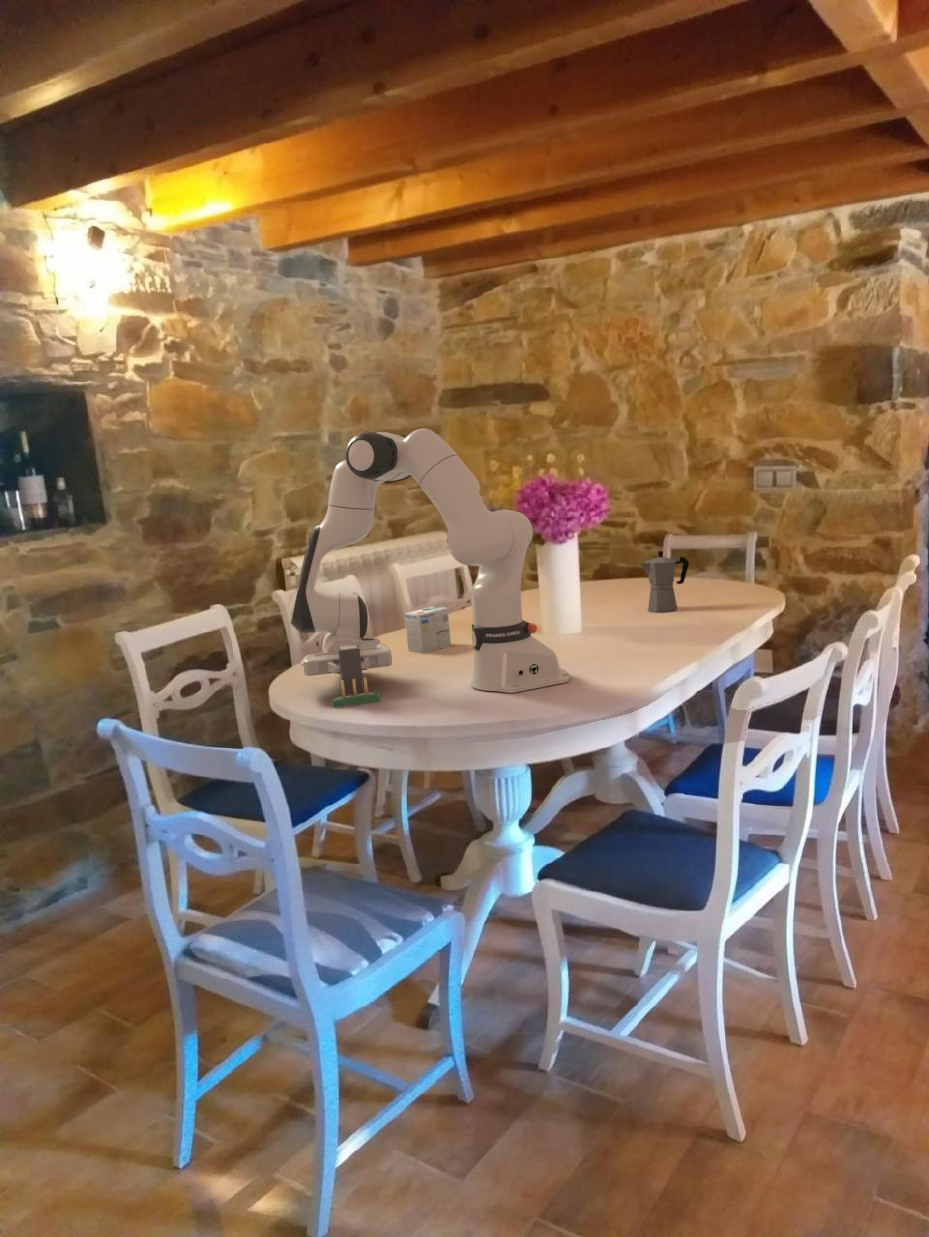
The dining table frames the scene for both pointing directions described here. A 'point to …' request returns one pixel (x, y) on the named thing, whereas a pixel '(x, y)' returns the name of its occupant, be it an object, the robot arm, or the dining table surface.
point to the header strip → (355, 696)
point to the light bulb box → (427, 629)
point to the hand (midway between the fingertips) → (350, 668)
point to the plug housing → (350, 668)
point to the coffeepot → (663, 582)
